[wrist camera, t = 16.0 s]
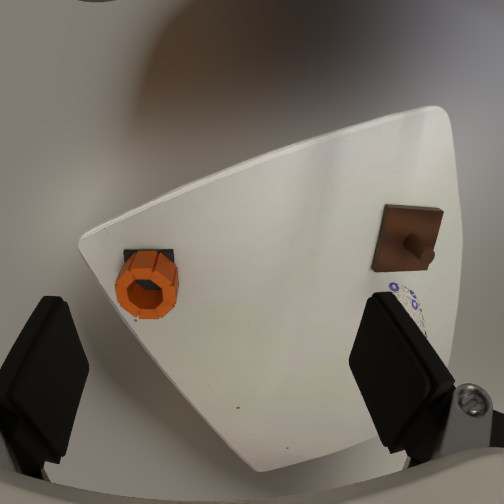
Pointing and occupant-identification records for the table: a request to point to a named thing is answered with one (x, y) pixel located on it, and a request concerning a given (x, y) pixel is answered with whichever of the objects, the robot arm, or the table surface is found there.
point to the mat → (148, 283)
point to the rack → (407, 238)
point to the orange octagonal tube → (147, 301)
